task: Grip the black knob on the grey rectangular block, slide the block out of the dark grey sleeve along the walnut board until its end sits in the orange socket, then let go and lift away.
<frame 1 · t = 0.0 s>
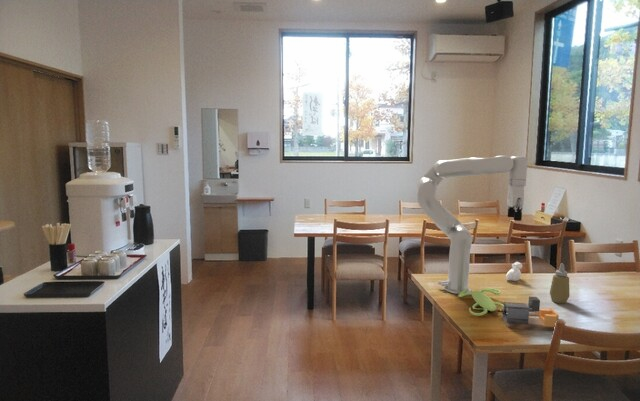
hand: (514, 218, 199), 37 cm above the table, tool pointing down, fingers open, 9 cm apart
squeeze bottle: (558, 302, 194), on the table
walnut board: (529, 324, 168), on the table
bust: (513, 280, 225), on the table
grey sleeve: (515, 312, 168), on the walnut board, point 4 cm above the table
figurine: (483, 306, 189), on the table
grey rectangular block: (523, 306, 168), point 7 cm above the table, slide at 0.0 cm
orange socket: (548, 317, 167), on the walnut board, point 4 cm above the table
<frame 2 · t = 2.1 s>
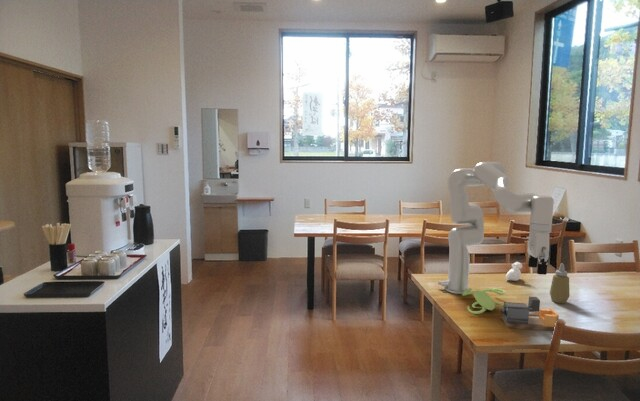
hand: (537, 270, 165), 22 cm above the table, tool pointing down, fingers open, 9 cm apart
figurine: (484, 305, 190), on the table
everything else where it was.
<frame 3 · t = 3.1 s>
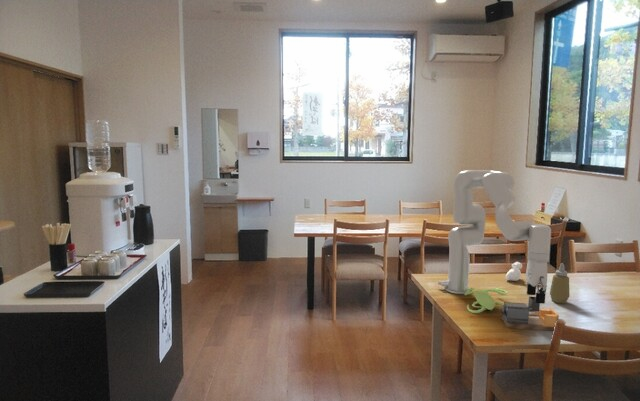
hand: (535, 298, 166), 11 cm above the table, tool pointing down, fingers open, 9 cm apart
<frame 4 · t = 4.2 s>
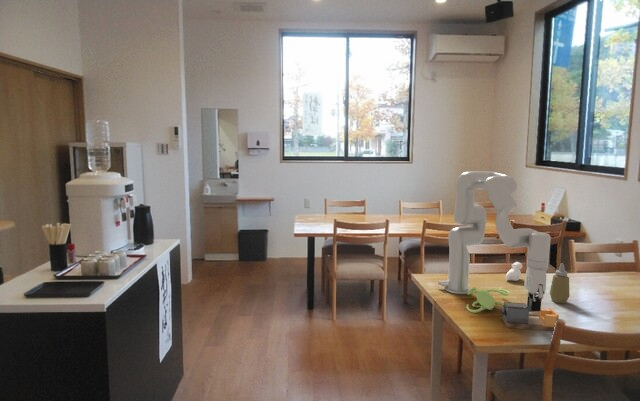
hand: (533, 308, 167), 7 cm above the table, tool pointing down, fingers closed on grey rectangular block, 4 cm apart
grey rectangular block: (523, 306, 168), point 7 cm above the table, slide at 0.0 cm, touching gripper
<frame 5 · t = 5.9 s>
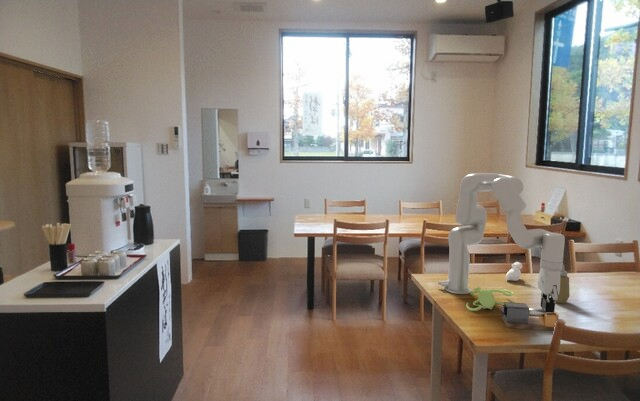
hand: (547, 309, 166), 7 cm above the table, tool pointing down, fingers closed on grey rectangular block, 4 cm apart
figurine: (489, 304, 191), on the table
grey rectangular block: (536, 307, 167), point 7 cm above the table, slide at 5.1 cm, touching gripper
everything else where it was.
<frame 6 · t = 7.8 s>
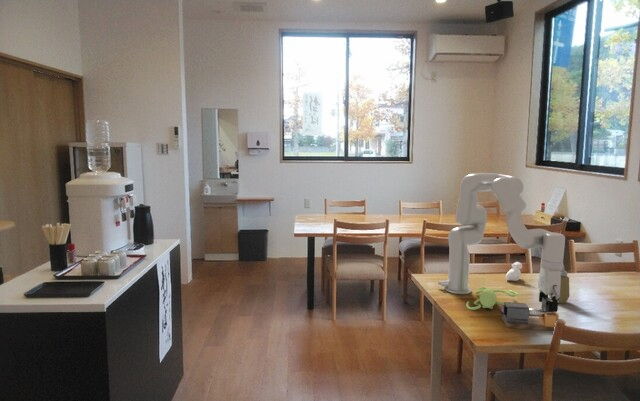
hand: (547, 306, 166), 8 cm above the table, tool pointing down, fingers open, 9 cm apart
figurine: (491, 304, 191), on the table
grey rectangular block: (536, 307, 167), point 7 cm above the table, slide at 5.0 cm
everything else where it was.
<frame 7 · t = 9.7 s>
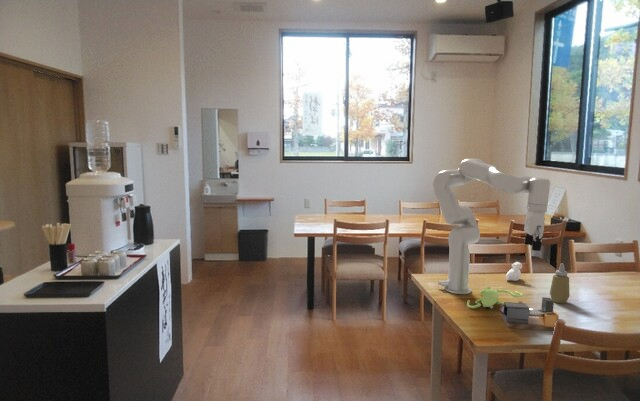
hand: (532, 247, 178), 28 cm above the table, tool pointing down, fingers open, 9 cm apart
figurine: (494, 304, 191), on the table
everything else where it was.
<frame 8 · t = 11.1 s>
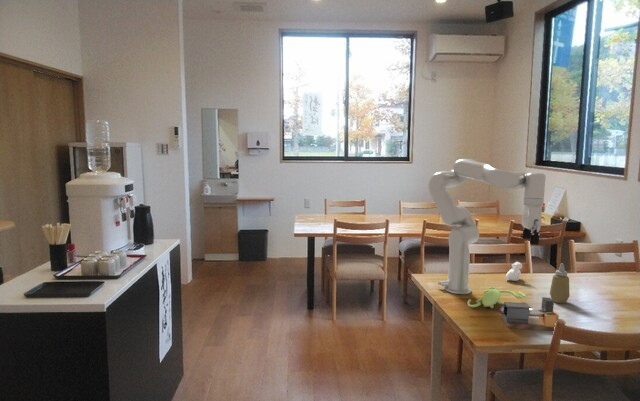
hand: (530, 241, 180), 30 cm above the table, tool pointing down, fingers open, 9 cm apart
at the end: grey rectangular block slide at 5.0 cm; the gripper is holding nothing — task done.
